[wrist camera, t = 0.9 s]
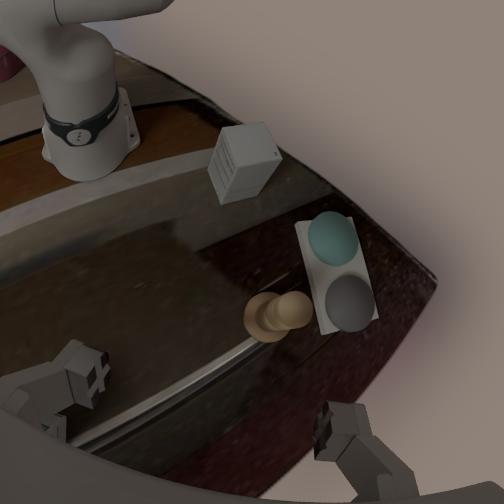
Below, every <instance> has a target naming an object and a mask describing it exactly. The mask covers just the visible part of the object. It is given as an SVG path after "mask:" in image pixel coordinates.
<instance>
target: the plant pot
mask: <svg viewBox="0 0 504 504" xmlns="http://www.w3.org/2000/svg"><path fill="white" fill-rule="evenodd" d="M21 67H22V60H21V59H20V58H19V57H18V56H16V55H15V54H14V53H13V52H11V51H10V50H9V49H7V48H6V47H4V46H2V45H0V83H1V82H4V81H6V80H8V79H10V78H12V77H13V76H14V75H15V74H16V73H17V72H18V71H19V70H20V69H21Z"/></svg>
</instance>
